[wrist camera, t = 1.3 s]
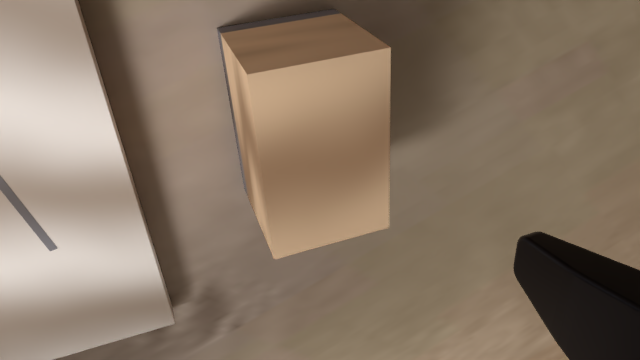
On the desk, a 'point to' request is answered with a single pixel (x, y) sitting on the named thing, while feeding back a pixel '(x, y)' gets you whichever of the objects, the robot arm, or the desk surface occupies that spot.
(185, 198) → the desk surface
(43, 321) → the board
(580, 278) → the robot arm
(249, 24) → the block
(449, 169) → the desk surface
